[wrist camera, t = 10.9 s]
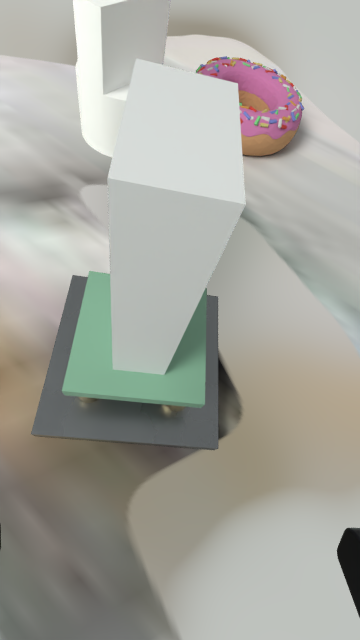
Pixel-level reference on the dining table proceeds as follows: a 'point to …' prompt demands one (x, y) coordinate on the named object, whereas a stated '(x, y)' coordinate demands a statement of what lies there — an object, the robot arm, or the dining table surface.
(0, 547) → the robot arm
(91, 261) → the dining table surface
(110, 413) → the plate
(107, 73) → the cylinder with rectangular tab
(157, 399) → the column on green base
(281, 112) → the donut
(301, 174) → the dining table surface
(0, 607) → the dining table surface
